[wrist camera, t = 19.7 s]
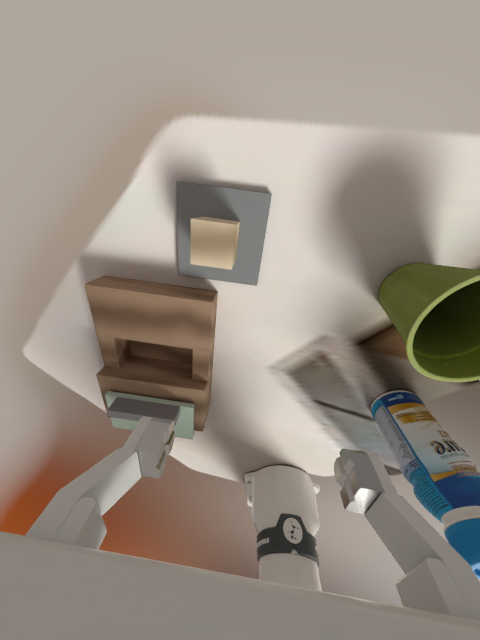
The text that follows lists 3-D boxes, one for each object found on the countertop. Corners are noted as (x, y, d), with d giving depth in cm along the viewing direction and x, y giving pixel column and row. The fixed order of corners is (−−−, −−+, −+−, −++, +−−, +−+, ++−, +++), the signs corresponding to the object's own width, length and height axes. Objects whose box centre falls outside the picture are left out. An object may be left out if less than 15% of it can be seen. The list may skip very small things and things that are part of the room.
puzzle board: (209, 403, 42) (202, 431, 37) (126, 391, 43) (108, 416, 37) (217, 291, 31) (208, 308, 26) (104, 275, 31) (72, 289, 26)
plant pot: (350, 268, 28) (400, 301, 18) (455, 226, 25) (587, 239, 15) (367, 338, 33) (414, 395, 23) (457, 311, 29) (558, 363, 19)
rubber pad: (256, 283, 30) (256, 285, 29) (180, 273, 30) (178, 274, 29) (271, 194, 25) (271, 193, 24) (178, 182, 25) (176, 181, 24)
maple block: (236, 258, 28) (231, 269, 23) (202, 254, 28) (190, 264, 23) (240, 221, 26) (235, 224, 21) (203, 216, 26) (190, 218, 21)
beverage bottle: (358, 406, 39) (438, 567, 22) (399, 380, 36) (534, 547, 18) (388, 426, 41) (484, 589, 23) (430, 403, 38) (580, 576, 20)
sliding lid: (193, 434, 37) (188, 454, 34) (116, 423, 38) (104, 441, 35) (194, 404, 33) (188, 422, 31) (107, 390, 34) (93, 408, 31)
